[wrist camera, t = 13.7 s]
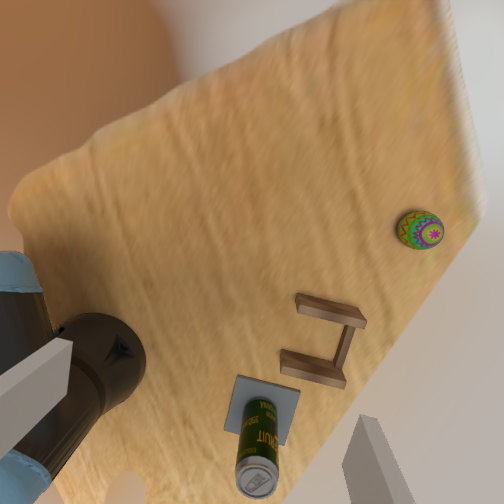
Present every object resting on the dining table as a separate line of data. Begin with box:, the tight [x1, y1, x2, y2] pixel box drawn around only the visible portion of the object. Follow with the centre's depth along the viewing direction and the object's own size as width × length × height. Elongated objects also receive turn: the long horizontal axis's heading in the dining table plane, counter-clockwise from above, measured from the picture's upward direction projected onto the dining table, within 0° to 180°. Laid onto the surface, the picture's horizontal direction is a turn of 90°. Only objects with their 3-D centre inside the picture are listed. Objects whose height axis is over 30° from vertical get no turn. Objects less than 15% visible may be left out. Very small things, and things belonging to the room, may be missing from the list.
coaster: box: [224, 375, 300, 446], centre depth 48 cm, size 10×10×1 cm
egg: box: [397, 211, 444, 250], centre depth 38 cm, size 5×5×6 cm
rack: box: [280, 293, 367, 389], centre depth 43 cm, size 9×10×4 cm
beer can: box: [235, 397, 279, 499], centre depth 42 cm, size 5×5×12 cm
